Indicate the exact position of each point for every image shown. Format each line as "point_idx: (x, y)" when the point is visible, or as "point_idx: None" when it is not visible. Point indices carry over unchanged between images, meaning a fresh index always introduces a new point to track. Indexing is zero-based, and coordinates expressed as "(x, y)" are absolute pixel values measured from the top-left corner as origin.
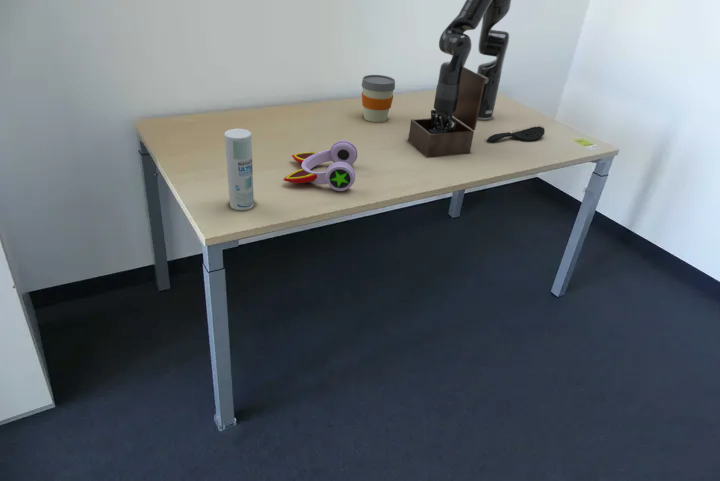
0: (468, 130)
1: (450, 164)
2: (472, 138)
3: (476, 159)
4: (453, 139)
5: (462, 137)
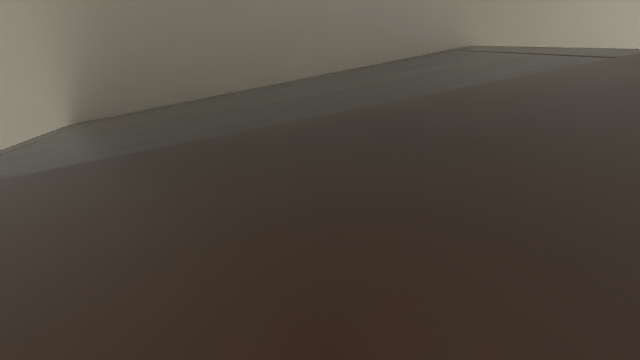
0: None
1: None
2: (595, 50)
3: (612, 33)
4: None
5: None
